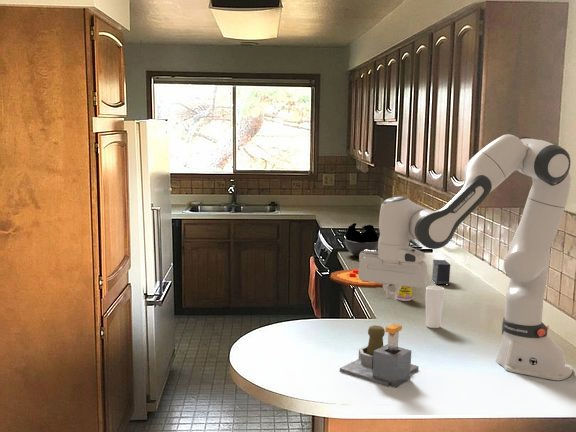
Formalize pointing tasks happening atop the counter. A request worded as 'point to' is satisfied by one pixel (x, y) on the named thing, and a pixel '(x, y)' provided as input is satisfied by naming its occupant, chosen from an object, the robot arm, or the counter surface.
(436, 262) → the small box
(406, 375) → the gray socket base
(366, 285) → the pizza
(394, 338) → the wedge pin
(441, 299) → the drinking glass
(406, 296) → the supplement bottle
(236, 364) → the counter surface
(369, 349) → the cork
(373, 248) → the coal bowl
